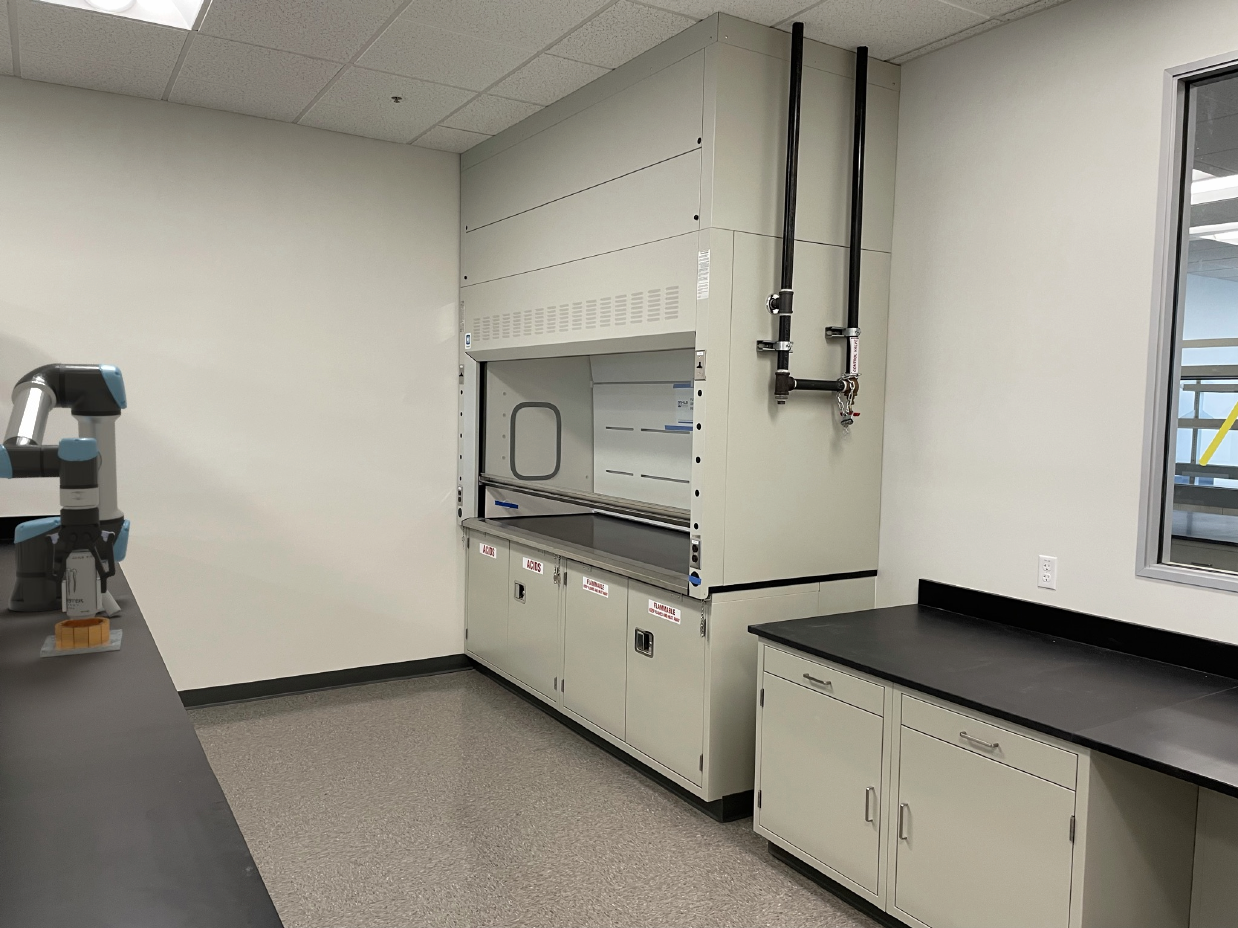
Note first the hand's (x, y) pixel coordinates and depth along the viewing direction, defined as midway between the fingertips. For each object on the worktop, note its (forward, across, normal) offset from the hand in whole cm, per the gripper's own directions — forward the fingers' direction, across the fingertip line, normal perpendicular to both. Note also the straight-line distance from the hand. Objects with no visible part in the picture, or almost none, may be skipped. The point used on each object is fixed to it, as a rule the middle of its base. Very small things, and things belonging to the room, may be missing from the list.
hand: (82, 608), depth 204 cm
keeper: (+8, 0, 0) cm, 8 cm away
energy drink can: (+2, 0, 0) cm, 2 cm away
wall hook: (+9, +2, +31) cm, 32 cm away
